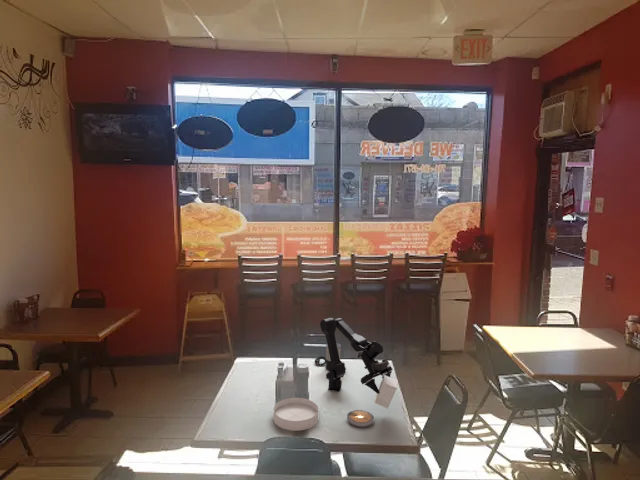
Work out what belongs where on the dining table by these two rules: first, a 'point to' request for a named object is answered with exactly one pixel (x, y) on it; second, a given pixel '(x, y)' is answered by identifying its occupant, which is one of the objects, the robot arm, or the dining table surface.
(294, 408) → the dish
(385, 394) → the supplement box
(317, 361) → the milk frother
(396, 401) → the dining table surface
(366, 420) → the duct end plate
